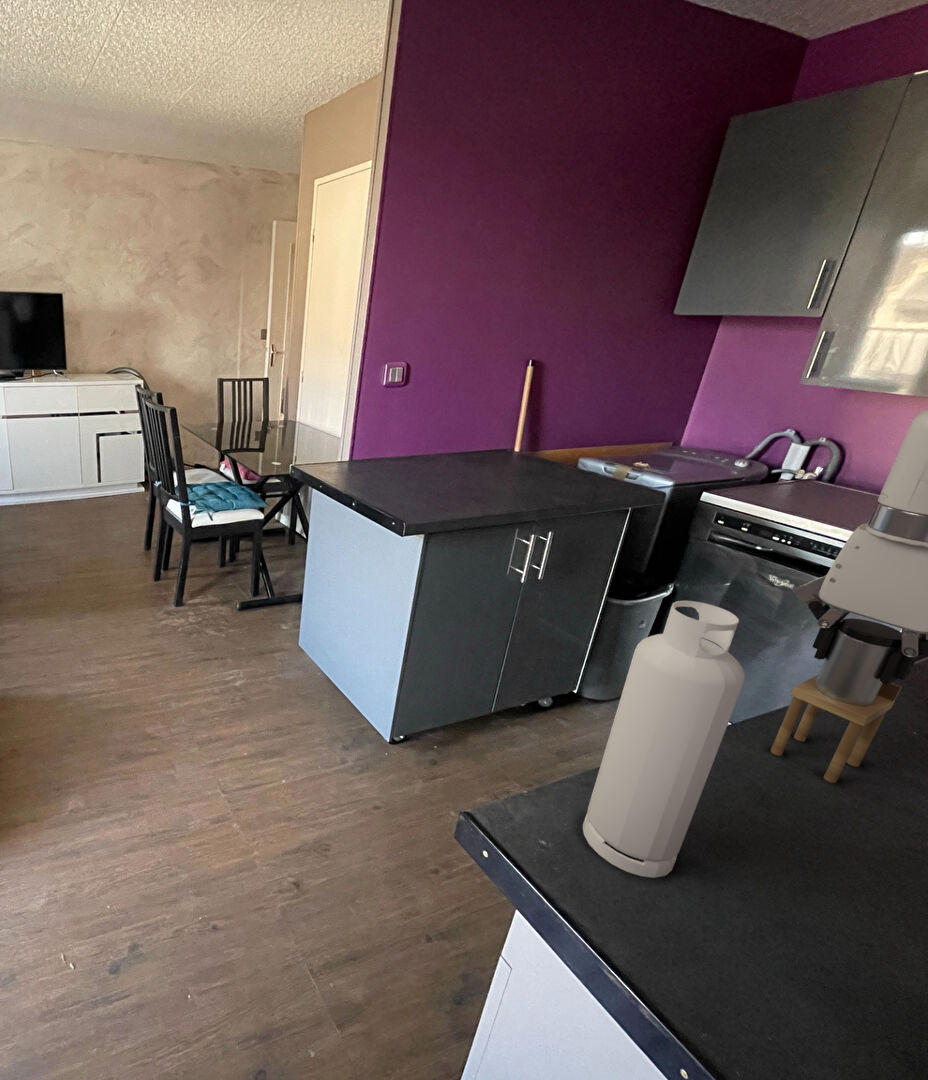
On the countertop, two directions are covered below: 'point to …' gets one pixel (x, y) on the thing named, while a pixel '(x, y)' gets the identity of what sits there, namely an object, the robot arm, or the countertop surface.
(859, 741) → the small wooden chair
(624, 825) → the bottle
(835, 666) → the canister
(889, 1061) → the countertop surface
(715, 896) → the countertop surface
